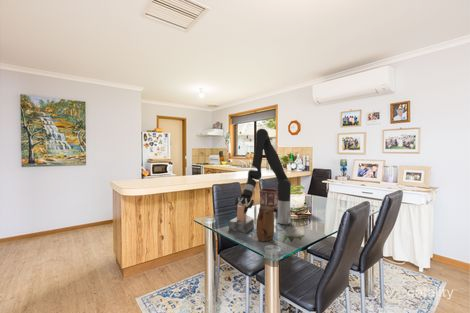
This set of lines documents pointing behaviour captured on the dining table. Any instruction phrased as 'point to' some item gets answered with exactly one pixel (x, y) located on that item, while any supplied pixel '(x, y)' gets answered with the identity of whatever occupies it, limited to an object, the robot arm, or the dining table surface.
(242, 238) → the dining table surface
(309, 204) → the candy box
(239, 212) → the terracotta block
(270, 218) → the block
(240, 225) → the charcoal plinth
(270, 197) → the reddish brown crate
